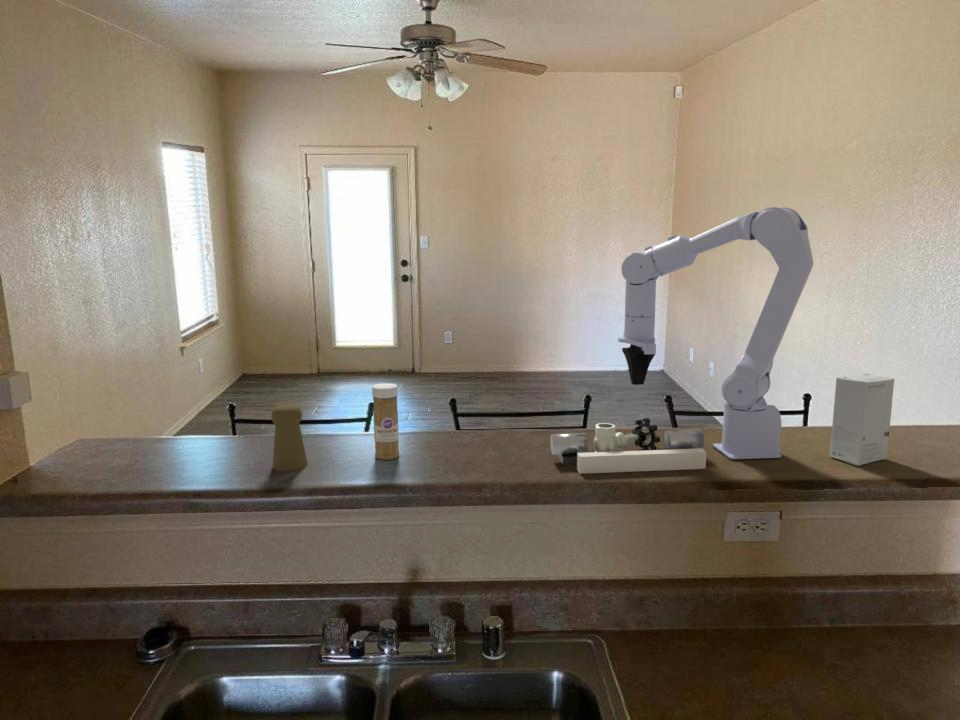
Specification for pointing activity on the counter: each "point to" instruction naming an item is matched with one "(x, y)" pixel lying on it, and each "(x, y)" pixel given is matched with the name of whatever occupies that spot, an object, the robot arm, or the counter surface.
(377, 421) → the sprinkles bottle
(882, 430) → the skincare box
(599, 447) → the valve
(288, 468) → the cork
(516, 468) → the counter surface
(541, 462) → the counter surface
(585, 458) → the bar
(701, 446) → the pipe stubs
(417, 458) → the counter surface
